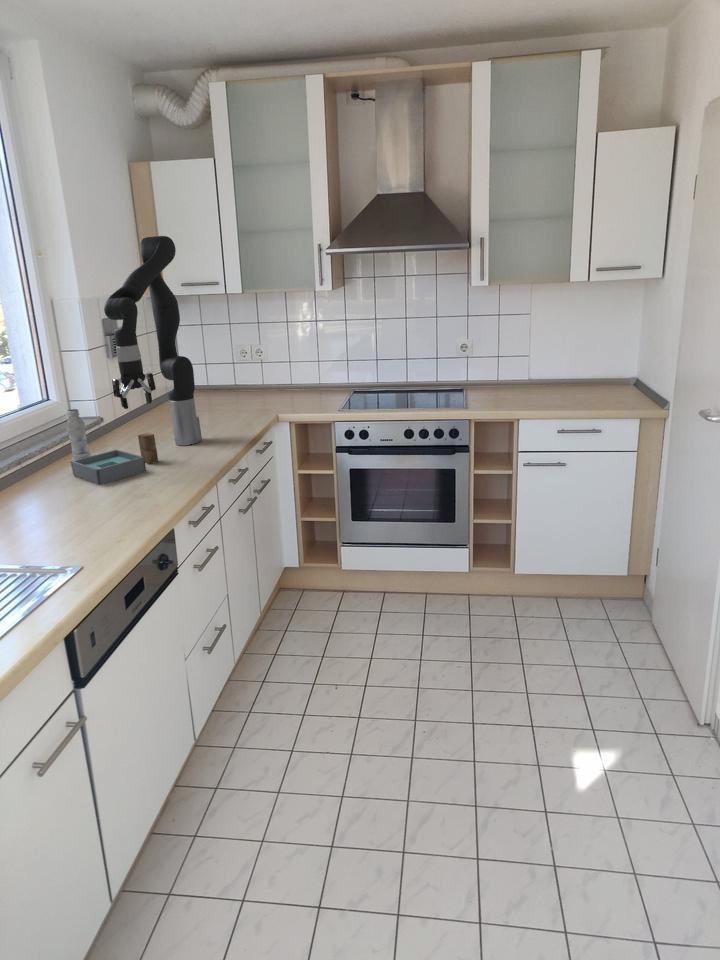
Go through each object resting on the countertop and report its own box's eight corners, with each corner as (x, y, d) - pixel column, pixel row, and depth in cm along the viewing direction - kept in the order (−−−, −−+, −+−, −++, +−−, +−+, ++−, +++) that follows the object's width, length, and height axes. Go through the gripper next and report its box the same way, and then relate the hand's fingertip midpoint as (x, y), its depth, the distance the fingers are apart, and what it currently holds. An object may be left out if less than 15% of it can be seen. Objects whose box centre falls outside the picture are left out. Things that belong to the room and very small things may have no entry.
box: (119, 463, 250) (116, 449, 248) (146, 471, 238) (143, 457, 237) (73, 475, 238) (70, 461, 237) (99, 484, 226) (96, 470, 225)
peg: (152, 459, 252) (148, 432, 248) (158, 461, 249) (154, 434, 246) (142, 462, 249) (137, 435, 246) (148, 464, 246) (143, 436, 243)
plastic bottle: (72, 469, 246) (61, 413, 240) (74, 464, 252) (64, 409, 246) (92, 466, 247) (81, 411, 241) (93, 461, 254) (83, 407, 247)
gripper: (143, 354, 244) (151, 400, 250) (104, 361, 235) (113, 409, 240) (154, 356, 239) (161, 403, 244) (114, 363, 230) (123, 411, 235)
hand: (137, 406), depth 242 cm, fingers open, 8 cm apart
